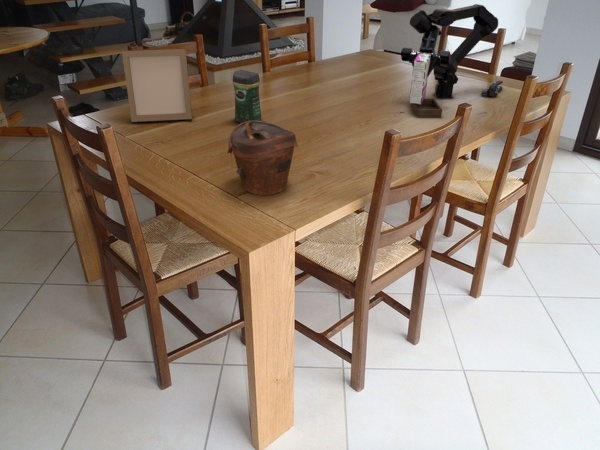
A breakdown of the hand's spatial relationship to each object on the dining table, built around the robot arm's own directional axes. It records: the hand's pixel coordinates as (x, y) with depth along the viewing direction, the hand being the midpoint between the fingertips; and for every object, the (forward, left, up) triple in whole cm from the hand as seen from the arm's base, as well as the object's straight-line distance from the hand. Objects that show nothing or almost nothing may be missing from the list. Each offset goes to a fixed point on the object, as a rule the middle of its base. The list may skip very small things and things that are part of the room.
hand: (420, 75), depth 194 cm
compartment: (-3, +3, -13) cm, 14 cm away
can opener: (-38, -22, -14) cm, 46 cm away
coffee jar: (+66, +15, -14) cm, 69 cm away
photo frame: (+99, +10, -13) cm, 100 cm away
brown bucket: (+57, +67, -14) cm, 89 cm away
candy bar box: (0, +1, -9) cm, 9 cm away
